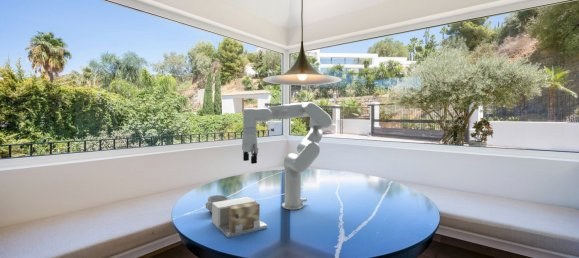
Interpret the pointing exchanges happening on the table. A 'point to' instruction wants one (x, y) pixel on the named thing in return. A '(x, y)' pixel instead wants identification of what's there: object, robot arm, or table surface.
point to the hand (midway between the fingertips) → (249, 161)
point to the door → (243, 215)
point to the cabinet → (226, 209)
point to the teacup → (214, 200)
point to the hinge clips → (239, 230)
